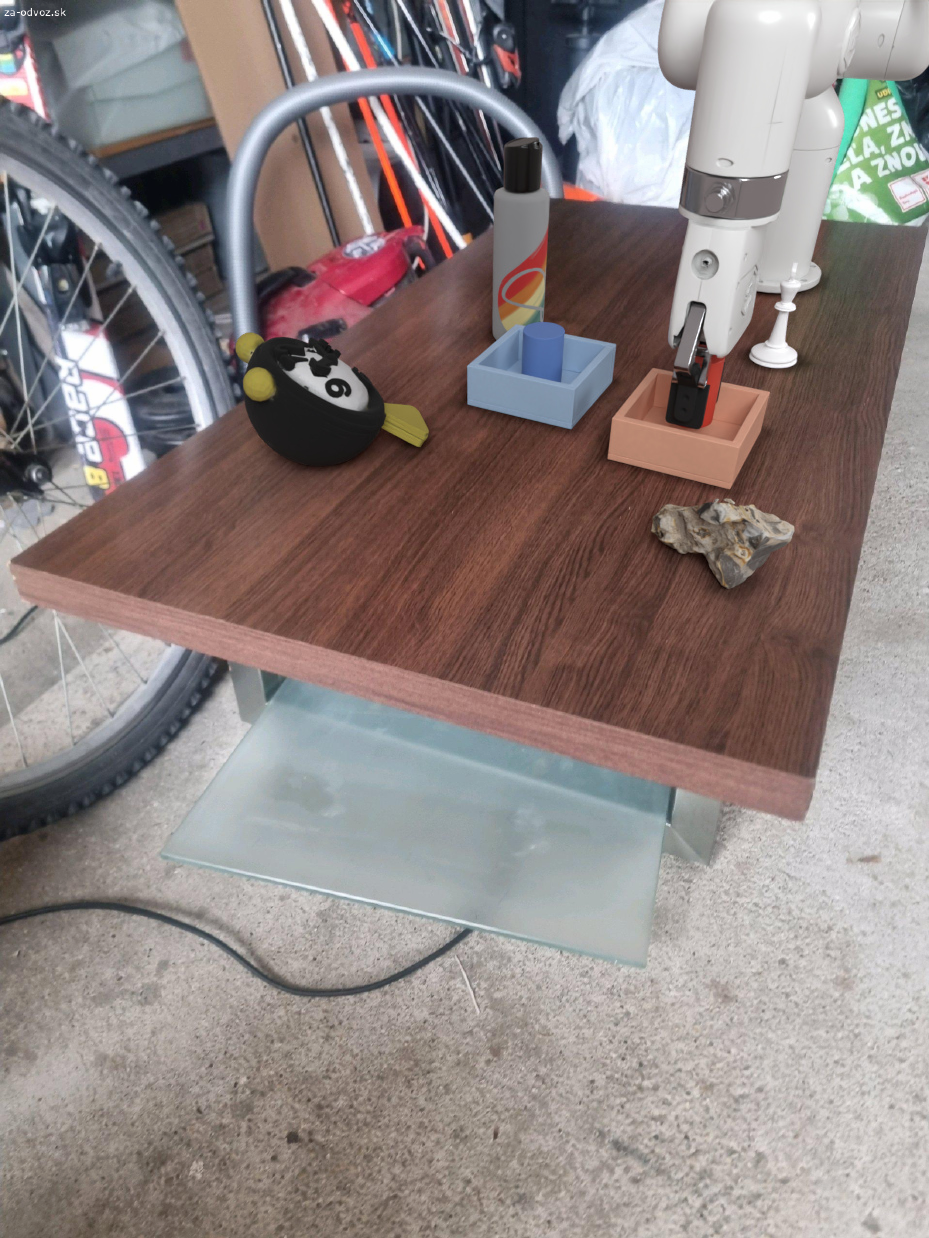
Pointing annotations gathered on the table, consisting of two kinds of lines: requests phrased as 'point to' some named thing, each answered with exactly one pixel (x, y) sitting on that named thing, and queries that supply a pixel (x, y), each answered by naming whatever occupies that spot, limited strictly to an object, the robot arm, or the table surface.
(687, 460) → the orange bin
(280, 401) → the alarm clock
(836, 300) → the table surface
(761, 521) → the rock
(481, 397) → the blue bin
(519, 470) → the table surface
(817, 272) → the robot arm
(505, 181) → the lotion bottle
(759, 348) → the chess piece
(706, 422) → the red peg
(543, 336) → the blue peg
